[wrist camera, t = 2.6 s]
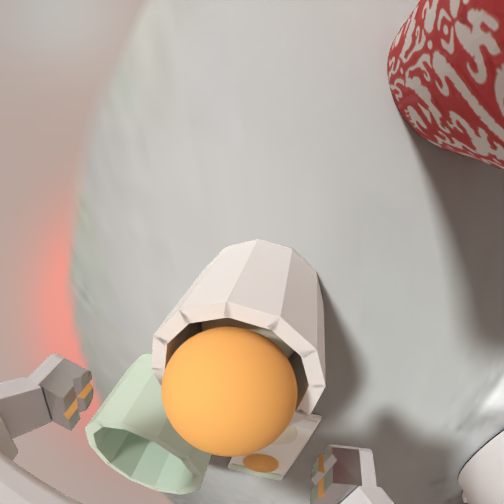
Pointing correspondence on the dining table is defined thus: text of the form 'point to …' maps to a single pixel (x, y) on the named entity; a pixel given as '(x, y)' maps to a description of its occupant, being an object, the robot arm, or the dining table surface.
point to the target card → (277, 451)
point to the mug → (453, 76)
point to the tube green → (145, 435)
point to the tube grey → (256, 311)
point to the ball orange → (229, 391)
